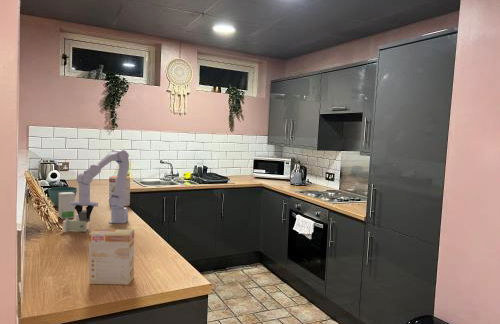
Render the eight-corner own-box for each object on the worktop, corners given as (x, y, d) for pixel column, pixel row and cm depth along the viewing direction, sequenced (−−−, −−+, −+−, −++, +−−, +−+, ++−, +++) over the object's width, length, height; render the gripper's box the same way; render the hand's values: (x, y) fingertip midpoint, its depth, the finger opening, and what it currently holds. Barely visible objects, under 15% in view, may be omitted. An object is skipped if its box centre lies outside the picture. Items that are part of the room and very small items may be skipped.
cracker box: (108, 205, 269) (108, 176, 267) (113, 203, 275) (114, 175, 273) (125, 207, 265) (125, 178, 263) (130, 205, 271) (130, 177, 269)
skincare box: (60, 219, 226) (60, 194, 225) (58, 217, 231) (57, 192, 230) (75, 217, 231) (75, 193, 230) (72, 215, 236) (72, 191, 235)
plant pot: (49, 203, 266) (48, 187, 265) (77, 202, 274) (76, 186, 273) (47, 209, 250) (47, 191, 249) (77, 207, 258) (76, 190, 256)
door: (84, 232, 200) (84, 222, 200) (67, 230, 202) (67, 220, 201) (86, 231, 202) (86, 221, 202) (69, 229, 204) (69, 220, 203)
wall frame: (80, 223, 218) (80, 213, 217) (65, 232, 200) (65, 220, 200) (77, 223, 218) (77, 212, 217) (62, 232, 200) (62, 220, 200)
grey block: (89, 220, 211) (89, 210, 210) (86, 223, 206) (86, 212, 205) (83, 220, 211) (83, 210, 210) (79, 222, 206) (79, 212, 205)
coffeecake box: (134, 277, 146) (134, 229, 144) (129, 285, 139) (129, 234, 137) (95, 276, 145) (95, 228, 143) (88, 284, 138) (88, 233, 136)
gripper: (67, 195, 203) (68, 219, 204) (94, 196, 203) (94, 220, 204) (74, 193, 210) (74, 216, 211) (99, 194, 210) (99, 217, 211)
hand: (84, 218), depth 208 cm, fingers closed on grey block, 4 cm apart
